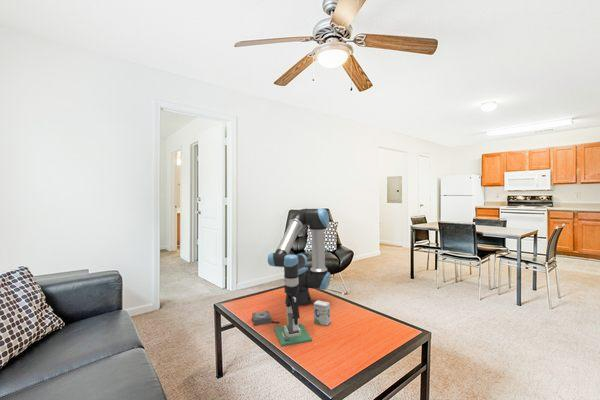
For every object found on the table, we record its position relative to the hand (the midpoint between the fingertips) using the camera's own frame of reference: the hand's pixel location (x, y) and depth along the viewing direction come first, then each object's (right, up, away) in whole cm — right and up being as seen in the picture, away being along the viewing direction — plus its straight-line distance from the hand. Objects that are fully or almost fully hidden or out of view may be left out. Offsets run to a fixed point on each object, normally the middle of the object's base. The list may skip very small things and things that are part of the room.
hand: (292, 324), depth 148 cm
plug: (0, -5, 0) cm, 5 cm away
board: (0, -6, 0) cm, 6 cm away
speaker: (-19, -6, +17) cm, 26 cm away
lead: (-10, -6, +14) cm, 18 cm away
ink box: (+17, -5, +13) cm, 22 cm away
